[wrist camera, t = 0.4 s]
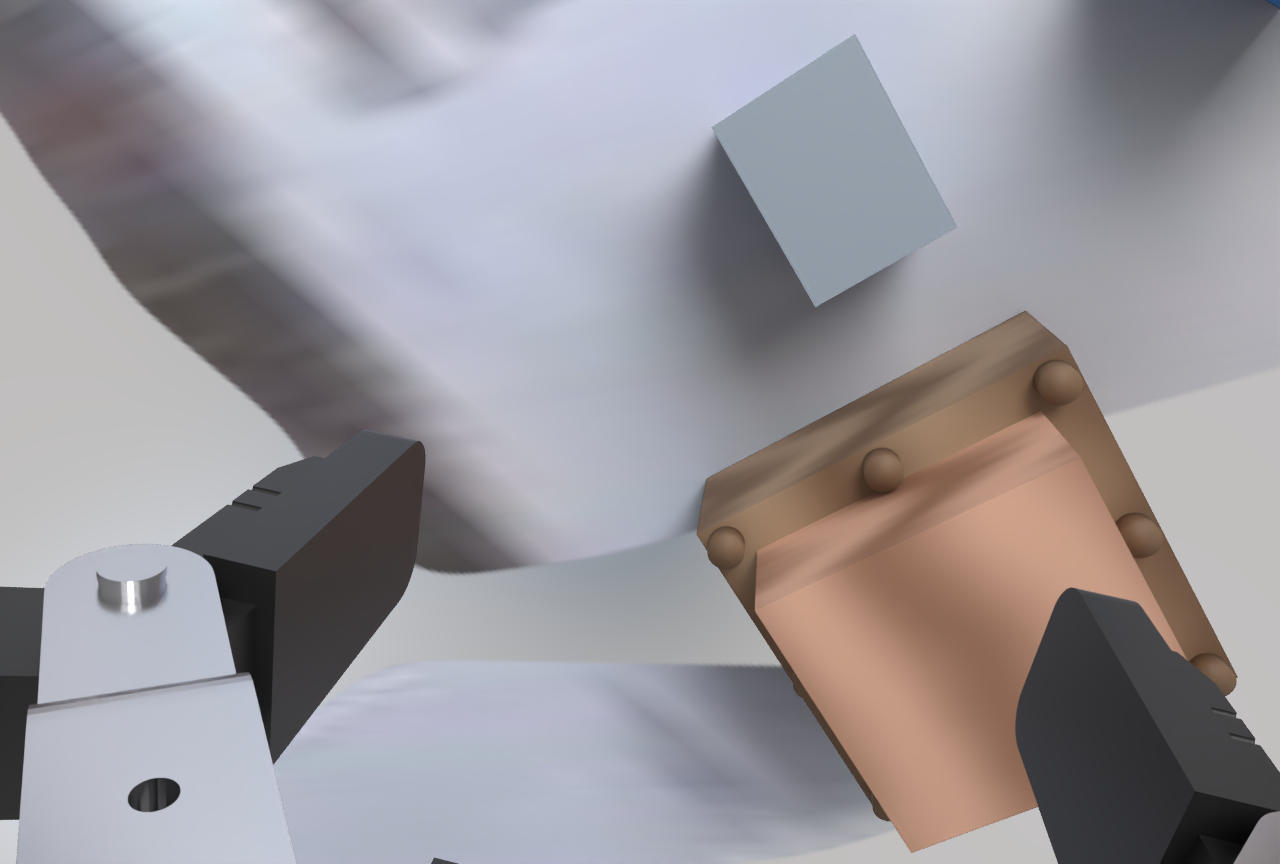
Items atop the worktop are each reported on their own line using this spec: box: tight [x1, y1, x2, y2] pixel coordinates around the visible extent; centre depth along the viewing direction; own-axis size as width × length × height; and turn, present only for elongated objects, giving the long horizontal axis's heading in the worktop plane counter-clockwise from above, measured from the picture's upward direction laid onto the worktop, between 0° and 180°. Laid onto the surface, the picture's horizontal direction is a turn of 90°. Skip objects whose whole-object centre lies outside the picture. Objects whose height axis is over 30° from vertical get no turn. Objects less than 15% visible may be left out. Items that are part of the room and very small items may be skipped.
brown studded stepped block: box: [697, 311, 1237, 852], centre depth 32 cm, size 13×13×9 cm
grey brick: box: [712, 34, 957, 307], centre depth 29 cm, size 4×6×6 cm
